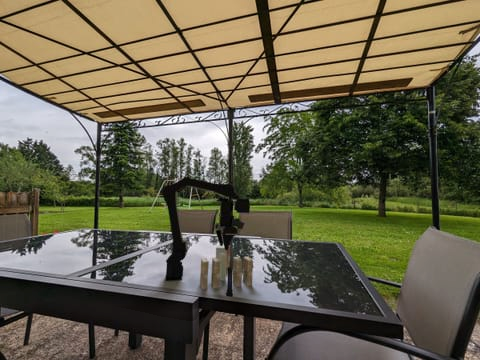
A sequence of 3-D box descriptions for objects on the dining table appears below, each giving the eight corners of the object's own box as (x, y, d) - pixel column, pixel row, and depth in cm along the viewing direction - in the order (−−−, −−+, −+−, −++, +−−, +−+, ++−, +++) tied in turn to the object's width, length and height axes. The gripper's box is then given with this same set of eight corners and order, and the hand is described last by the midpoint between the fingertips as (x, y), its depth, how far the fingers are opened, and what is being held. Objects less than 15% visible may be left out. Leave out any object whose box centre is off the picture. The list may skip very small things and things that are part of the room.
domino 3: (220, 280, 96) (222, 256, 97) (218, 276, 101) (219, 253, 102) (225, 280, 96) (226, 256, 97) (222, 276, 102) (223, 253, 103)
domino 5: (247, 286, 91) (248, 260, 92) (242, 281, 96) (243, 256, 97) (252, 285, 91) (253, 260, 92) (247, 280, 97) (248, 256, 98)
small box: (225, 270, 111) (226, 248, 112) (214, 269, 112) (215, 247, 113) (229, 266, 119) (230, 245, 120) (219, 265, 120) (220, 244, 121)
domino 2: (213, 288, 87) (215, 261, 88) (211, 283, 92) (212, 257, 94) (218, 288, 87) (220, 261, 88) (215, 282, 93) (217, 257, 94)
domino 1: (201, 289, 86) (203, 261, 87) (199, 283, 91) (201, 258, 92) (207, 289, 86) (208, 261, 87) (204, 283, 92) (206, 257, 93)
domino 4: (236, 286, 89) (237, 260, 90) (232, 281, 95) (233, 257, 96) (241, 286, 90) (242, 260, 91) (237, 281, 96) (238, 256, 97)
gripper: (250, 214, 96) (248, 252, 94) (237, 212, 114) (235, 244, 112) (224, 213, 93) (221, 252, 91) (215, 211, 110) (212, 244, 109)
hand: (223, 247), depth 101 cm, fingers open, 9 cm apart
